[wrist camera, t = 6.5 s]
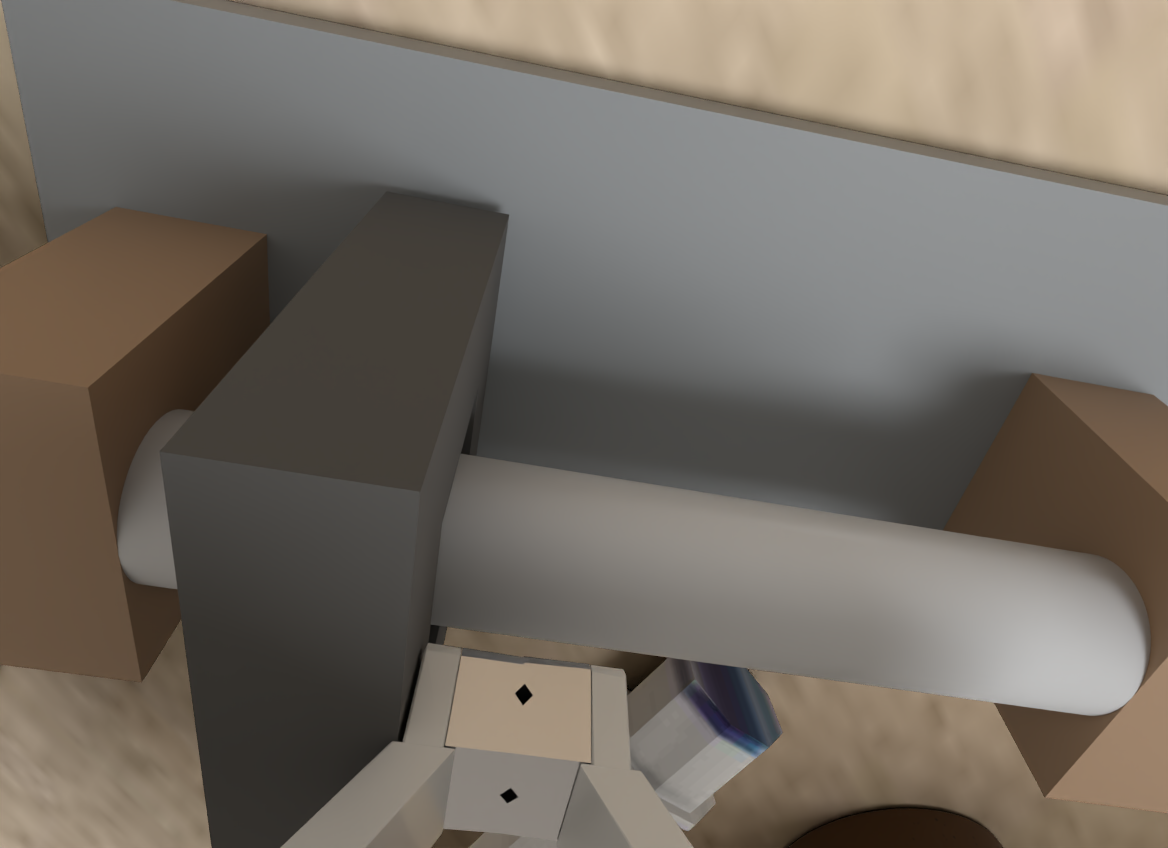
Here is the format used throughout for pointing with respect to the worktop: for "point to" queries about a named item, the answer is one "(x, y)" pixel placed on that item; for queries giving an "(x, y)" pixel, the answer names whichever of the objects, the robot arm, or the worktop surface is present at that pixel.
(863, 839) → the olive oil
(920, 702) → the worktop surface
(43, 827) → the worktop surface
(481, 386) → the collar
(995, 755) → the worktop surface
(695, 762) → the electric toothbrush
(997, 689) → the pipe stand
